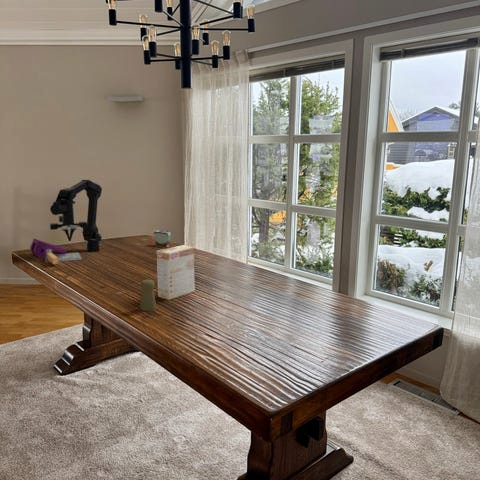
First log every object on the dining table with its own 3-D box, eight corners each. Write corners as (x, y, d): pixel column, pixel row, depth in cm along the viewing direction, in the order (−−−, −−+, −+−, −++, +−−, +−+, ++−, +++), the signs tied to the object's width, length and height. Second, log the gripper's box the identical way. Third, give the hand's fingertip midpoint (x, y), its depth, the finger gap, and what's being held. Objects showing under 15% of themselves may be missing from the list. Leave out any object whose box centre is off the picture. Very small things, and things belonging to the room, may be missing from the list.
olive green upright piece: (157, 305, 169) (156, 278, 167) (155, 310, 163) (154, 282, 161) (141, 305, 169) (140, 278, 167) (138, 310, 163) (137, 282, 161)
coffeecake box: (183, 288, 191) (183, 244, 187) (195, 291, 187) (194, 246, 183) (157, 296, 180) (155, 250, 176) (168, 300, 175) (167, 252, 172)
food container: (175, 246, 276) (174, 231, 274) (168, 248, 271) (168, 232, 269) (160, 244, 282) (160, 229, 280) (153, 246, 277) (153, 230, 275)
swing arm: (58, 264, 225) (57, 254, 224) (52, 264, 224) (52, 255, 223) (51, 257, 239) (50, 248, 238) (46, 258, 237) (45, 249, 236)
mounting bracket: (58, 261, 260) (28, 252, 248) (63, 248, 261) (33, 238, 249) (63, 264, 253) (32, 255, 241) (69, 250, 254) (38, 240, 242)
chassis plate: (78, 254, 253) (78, 251, 253) (81, 259, 240) (81, 257, 240) (44, 257, 245) (44, 254, 245) (45, 262, 233) (45, 260, 232)
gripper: (84, 210, 248) (85, 237, 251) (48, 211, 240) (50, 239, 243) (86, 212, 238) (88, 240, 241) (49, 214, 230) (51, 243, 233)
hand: (69, 240), depth 240 cm, fingers closed
